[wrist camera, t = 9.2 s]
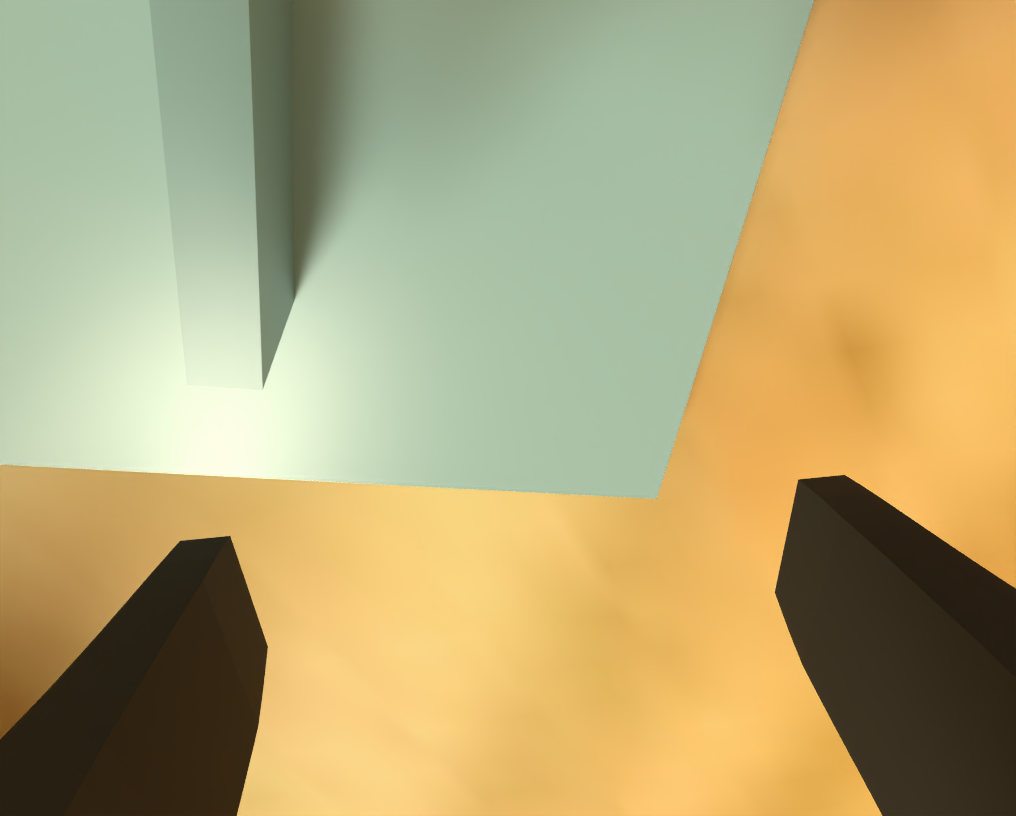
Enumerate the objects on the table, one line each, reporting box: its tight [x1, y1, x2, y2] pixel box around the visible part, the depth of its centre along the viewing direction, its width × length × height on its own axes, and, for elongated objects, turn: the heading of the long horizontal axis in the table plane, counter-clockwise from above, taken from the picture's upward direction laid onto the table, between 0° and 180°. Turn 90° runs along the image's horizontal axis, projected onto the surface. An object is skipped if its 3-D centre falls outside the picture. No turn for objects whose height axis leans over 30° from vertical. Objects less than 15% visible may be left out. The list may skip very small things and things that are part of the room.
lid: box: [0, 0, 814, 499], centre depth 13 cm, size 19×15×5 cm
